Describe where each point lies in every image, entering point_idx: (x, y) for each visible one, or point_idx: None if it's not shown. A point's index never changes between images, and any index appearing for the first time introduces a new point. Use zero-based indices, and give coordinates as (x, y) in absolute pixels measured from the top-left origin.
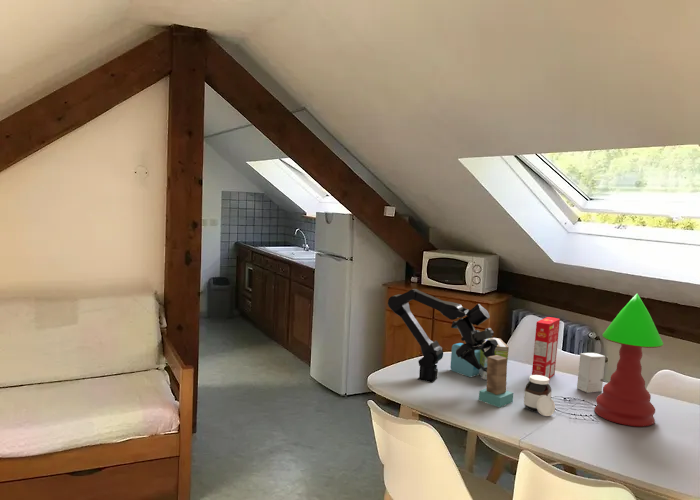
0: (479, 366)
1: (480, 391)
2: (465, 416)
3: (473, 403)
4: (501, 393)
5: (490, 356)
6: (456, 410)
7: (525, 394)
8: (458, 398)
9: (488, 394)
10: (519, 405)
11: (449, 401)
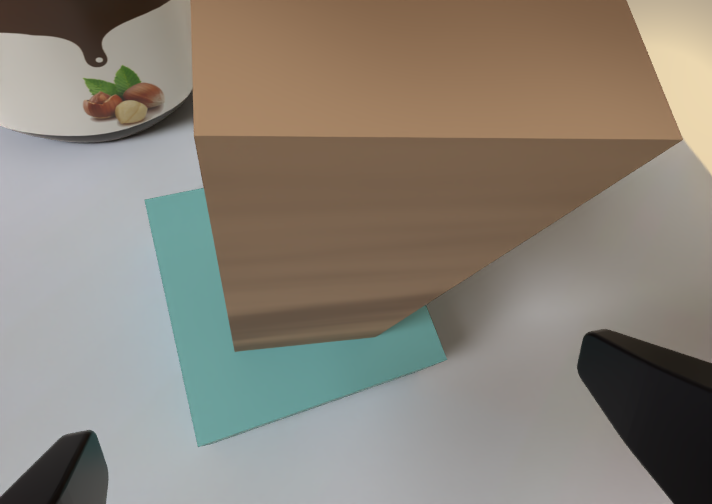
0: (631, 343)
1: (441, 346)
2: (648, 170)
3: (498, 323)
4: None
5: (573, 120)
6: (668, 260)
7: (188, 13)
8: (564, 462)
9: None
10: (171, 168)
11: None
